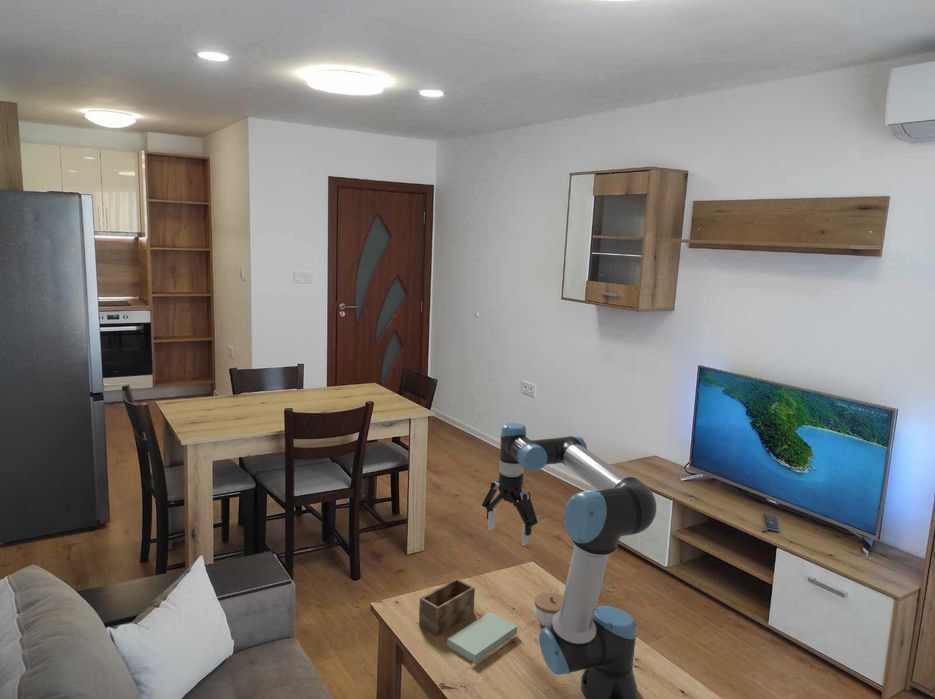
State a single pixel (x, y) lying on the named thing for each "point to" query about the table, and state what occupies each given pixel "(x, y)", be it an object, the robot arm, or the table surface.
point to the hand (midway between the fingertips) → (507, 536)
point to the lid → (482, 636)
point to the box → (446, 606)
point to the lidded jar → (547, 607)
